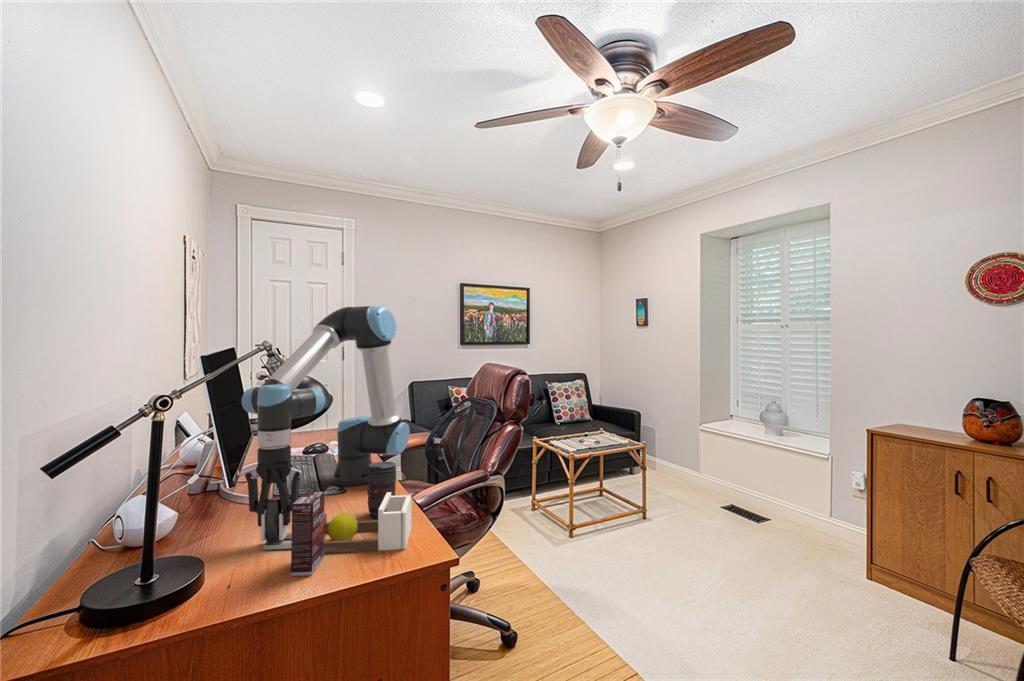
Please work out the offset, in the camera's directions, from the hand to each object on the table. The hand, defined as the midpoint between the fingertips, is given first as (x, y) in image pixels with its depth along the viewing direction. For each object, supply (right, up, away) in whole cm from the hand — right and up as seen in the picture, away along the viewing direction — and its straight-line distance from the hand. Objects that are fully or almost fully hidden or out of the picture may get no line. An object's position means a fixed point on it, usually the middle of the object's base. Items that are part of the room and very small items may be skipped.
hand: (274, 538), depth 115 cm
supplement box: (+14, -2, -11) cm, 18 cm away
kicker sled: (+5, -1, +1) cm, 5 cm away
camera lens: (+22, -2, +20) cm, 29 cm away
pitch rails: (+18, -2, +2) cm, 18 cm away
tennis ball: (+17, -2, +2) cm, 17 cm away
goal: (+30, -2, +3) cm, 30 cm away
